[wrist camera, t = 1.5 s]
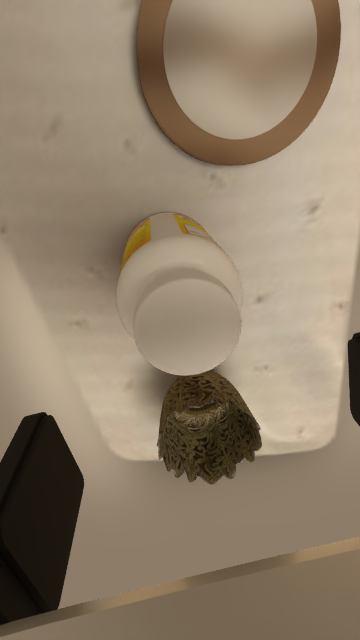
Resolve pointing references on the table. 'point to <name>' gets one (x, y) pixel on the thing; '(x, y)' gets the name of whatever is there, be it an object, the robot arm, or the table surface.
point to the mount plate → (236, 72)
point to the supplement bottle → (179, 295)
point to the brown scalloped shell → (206, 428)
